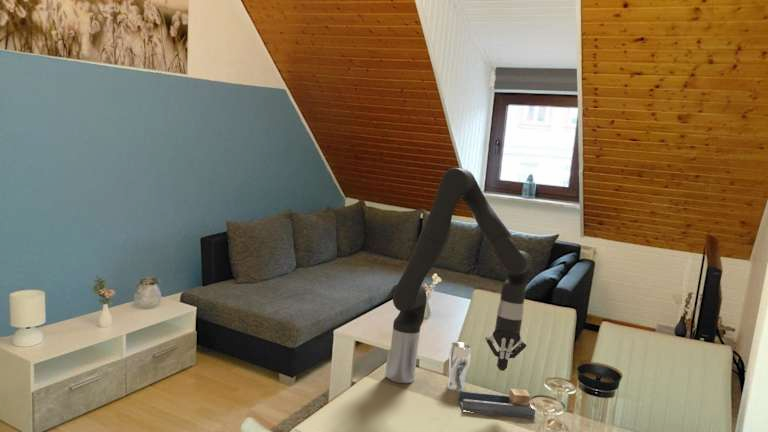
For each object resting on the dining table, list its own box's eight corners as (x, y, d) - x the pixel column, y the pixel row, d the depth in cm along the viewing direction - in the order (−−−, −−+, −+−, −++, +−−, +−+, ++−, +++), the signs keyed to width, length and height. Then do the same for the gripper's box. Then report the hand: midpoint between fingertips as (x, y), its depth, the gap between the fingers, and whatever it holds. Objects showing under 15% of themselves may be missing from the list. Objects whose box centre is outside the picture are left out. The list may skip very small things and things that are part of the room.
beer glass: (442, 388, 182) (447, 344, 181) (449, 382, 188) (455, 340, 187) (462, 394, 179) (467, 349, 178) (469, 388, 185) (474, 345, 184)
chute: (462, 412, 164) (464, 401, 164) (458, 400, 173) (459, 389, 173) (534, 419, 165) (535, 408, 165) (526, 407, 174) (527, 396, 174)
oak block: (512, 410, 167) (514, 394, 166) (508, 403, 172) (510, 388, 171) (528, 412, 167) (530, 396, 167) (523, 405, 172) (525, 390, 172)
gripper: (491, 315, 163) (482, 371, 165) (534, 321, 164) (525, 376, 165) (486, 309, 171) (478, 363, 172) (527, 314, 171) (519, 368, 172)
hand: (501, 369), depth 169 cm, fingers closed
